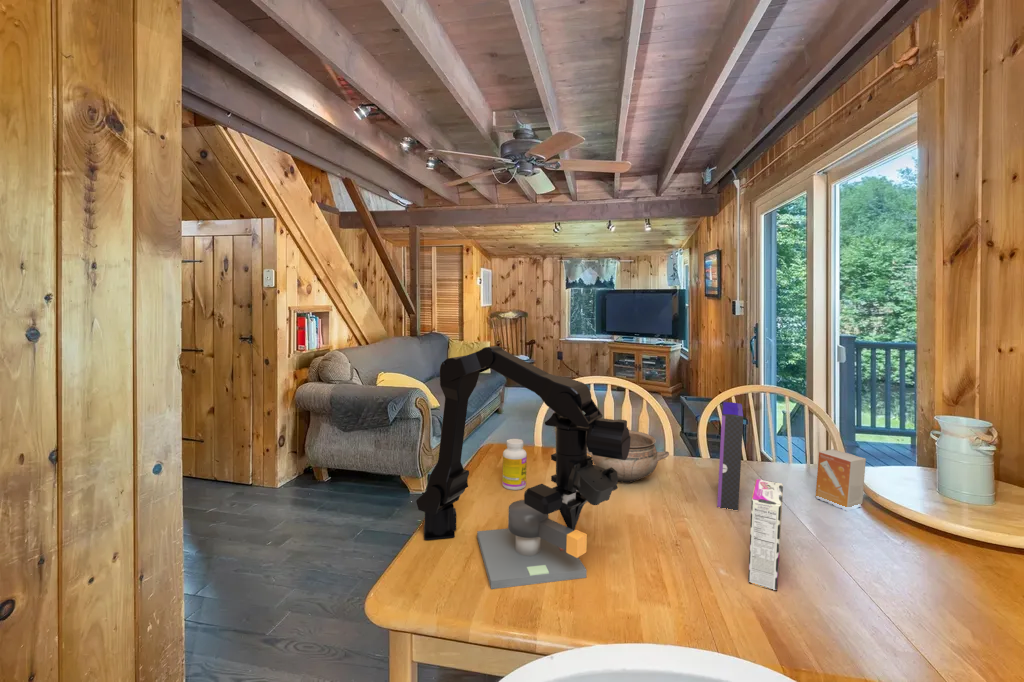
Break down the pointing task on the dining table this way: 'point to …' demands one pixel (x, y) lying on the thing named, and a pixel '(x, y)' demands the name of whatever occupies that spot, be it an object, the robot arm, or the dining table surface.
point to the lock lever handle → (544, 529)
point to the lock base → (525, 560)
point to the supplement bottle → (514, 465)
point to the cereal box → (730, 456)
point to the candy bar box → (765, 533)
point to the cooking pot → (634, 458)
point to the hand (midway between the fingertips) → (571, 530)
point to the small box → (840, 477)
